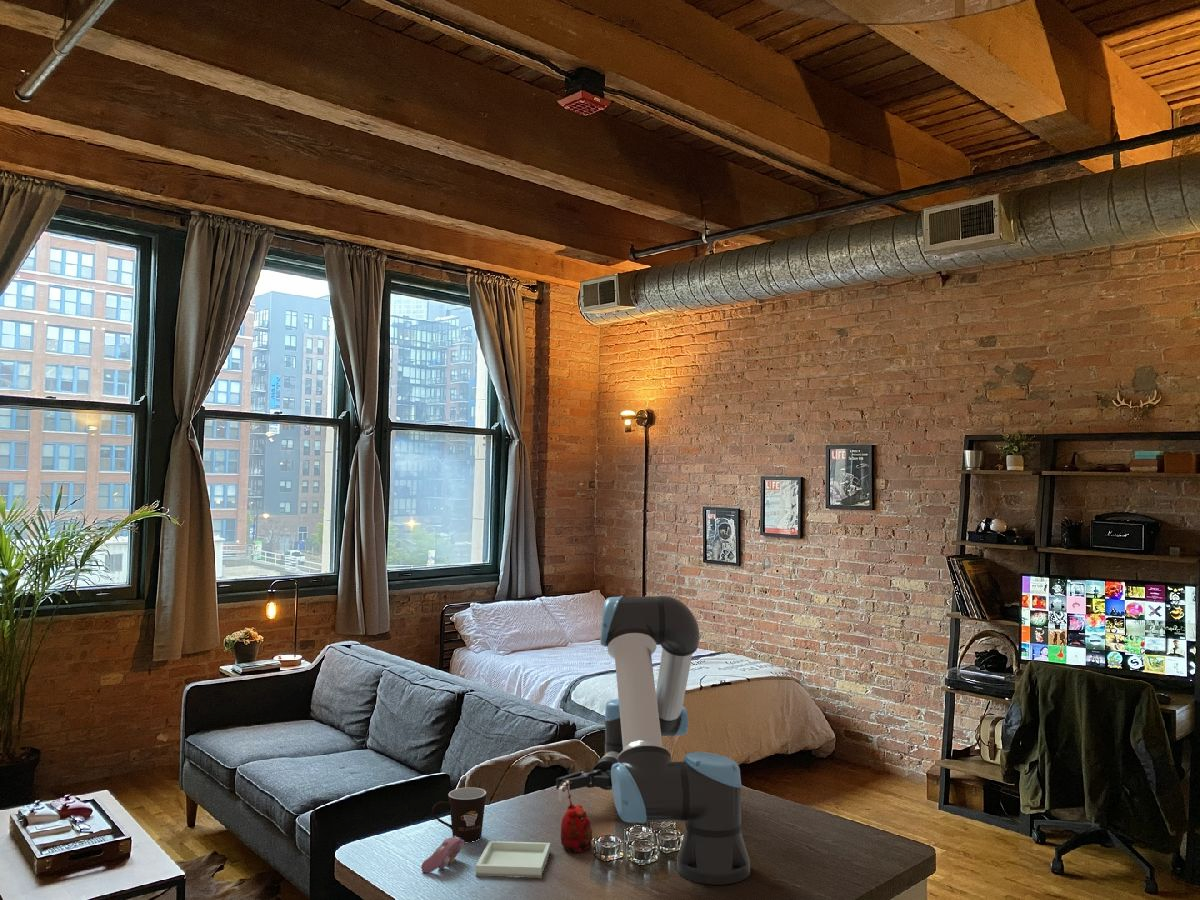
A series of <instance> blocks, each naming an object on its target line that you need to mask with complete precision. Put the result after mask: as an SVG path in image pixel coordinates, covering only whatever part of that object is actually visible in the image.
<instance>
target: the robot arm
mask: <svg viewBox="0 0 1200 900" xmlns="http://www.w3.org/2000/svg"><path fill="white" fill-rule="evenodd" d="M697 621H698V620H697V619H696V617H695V615H694V614H693V612H692V611H691V609H690V608H689V607H688V606H687V605H686V604H684V602H682V601H681V600H679V599H677V598H675V597H672V596H669V595H655V596H654V595H652V596H651V595H649V596H646V595H645V596H644V595H643V596H624V595H620V596H612V597H607V598H606V599H605V601H604V602H603V607H602V616H601V627H600V637H599V638H600V641H599V642H600V643H599V644H600V646H603V647H607V653H608V655H609V657H611V658H613V659H614V662H615V664H614V665H615V674H616V675H615V676H616V687H617V696H618V697H617V698H616V699H610V700H608V701H607V702H606V704H605V711H604V733H605V734H604V737H605V738H604V739H605V740H604V755H603V756H602V757H601V758H600V759H599V760H597V763H595V765H594V766H593V769H592V771H588V772H585V773H584V769H578V770H577V771H575V772H572V773H569V774H566V775H563V776H560V777H557V778H556V779H555V780H556V782H555V786H556V790H557V793H558V796H557V797H558V798H557V799H558V801H560V802H562V801H563V800H564V799H565V798H566V796H567V795H568V790H567V789H566V790H565V792H563V791H562V788H563V787H564V788H565V787H566V786H562V785H566V782H567V783H568V784H569V783H571V782H572V783H571V784H569V785H568V789H569V791H571V790H572V791H573V790H576V789H582V788H588V789H591V788H600V789H601V790H604V791H612V798H613V801H614V806H615V810H616V811H617V814H618V816H619V818H620V819H621V820H622V821H623V822H625V823H634V824H635V823H639V824H648V823H664V822H665V823H666V822H667V823H668V822H670V823H671V822H684V824H685V825H684V827H685V829H684V834H683V836H682V841H681V844H680V847H679V850H678V853H677V856H676V869H677V870H676V871H677V873H679V875H681V877H683V878H685V879H687V880H690V881H692V882H695V883H697V884H698V883H699V884H704V885H706V884H707V885H715V886H716V885H719V886H721V885H732V884H736V883H739V882H742V881H745V880H746V879H747V878H748V877H749V876H750V874H751V859H750V856H749V853H748V850H747V847H746V844H745V841H744V838H743V834H742V807H741V806H742V802H741V801H742V794H741V793H742V786H743V784H742V779H741V769H740V766H739V764H738V763H737V762H736V761H735V760H733V759H732V758H731V757H727V756H725V755H723V754H719V753H714V752H708V751H692V752H690V751H689V752H687V753H686V754H685V755H684V757H683V761H672V754H671V751H670V750H669V749H668V748H667V747H665V746H663V740H662V738H663V737H676V736H684V735H687V733H688V730H689V715H688V713H689V712H688V710H687V708H686V707H685V706H684V701H685V697H686V691H687V686H688V679H689V674H690V668H691V664H692V663H691V662H692V657H693V655H694V654H695V652H697V650H698V647H699V643H700V628H699V624H698V622H697ZM657 645H659V646H661V648H662V649H661V650H662V651H661V657H660V664H659V670H658V676H657V683H655V675H654V667H653V660H652V655H653V654H654V653H655V651H656V649H657ZM563 779H565V780H566V782H565V781H564V780H563Z"/></svg>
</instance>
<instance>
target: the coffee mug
mask: <svg viewBox="0 0 1200 900" xmlns="http://www.w3.org/2000/svg"><path fill="white" fill-rule="evenodd" d="M447 795H448V802H446V801H443V800H442V801H438V802H436V803H435V804H434V805H433V806H432V810H431V812H432V816H433V817H434V819H435V820H437V821H438V822H439V823H441V824H443V825H444V826H446V827H448V828H450V830H452V831H451V833H452V837H454V836H455V835H456V837H459V838H461V839H462V840H464V841H465V842H472V841H476V840H478V839H480V838H481V839H482V833H483V832H482V831H483V824H484V816H485V815H484V814H485V808H486V799H487V791H486V790H485V789H483V788H480V787H460V788H454V790H451V791H449V793H448V794H447ZM440 805H444V806H446V808H447V810H448V811H449V813H450V822H451V824H449V823H448V822H446V821H444V820H442V819H440V818H439V817H438V816H437V815H436V813H435V811H436V808H437V807H438V806H440ZM481 839H480V840H481ZM478 841H479V840H478ZM476 842H477V841H476ZM472 843H473V842H472Z"/></svg>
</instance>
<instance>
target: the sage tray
mask: <svg viewBox="0 0 1200 900" xmlns="http://www.w3.org/2000/svg"><path fill="white" fill-rule="evenodd" d="M551 845H552V844H551V842H539V841H538V842H536V841H535V842H533V841H531V842H530V841H505V840H504V841H502V840H501V841H499V840H497V841H496V840H489V841H488V842H487V844H486V846H485V848H484V850H483V852H482V853H481V856H480V857H479V859H478V860H477V863H476V864H475V877H489V876H509V877H508V878H515V877H514V876H520V877H521V876H523V877H541V876H542V877H543V875H542V873H543V874H544V872H545V869H544V868H546V867H545V865H546V866H547V864H548V861H549V858H548V857H550V856H549V854H550V855H551V853H550V852H551V851H552V849H551V848H552V847H551ZM547 860H548V861H547ZM546 863H547V864H546ZM543 871H544V872H543ZM510 876H512V877H510ZM542 877H541V878H542Z"/></svg>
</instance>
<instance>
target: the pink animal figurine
mask: <svg viewBox="0 0 1200 900" xmlns="http://www.w3.org/2000/svg"><path fill="white" fill-rule="evenodd" d="M465 844H466V843H465V841H464V840H462V839H461V838H459V837H456V835H455V836H454V837H453V836H452V837H448V838H446V839H444V840H443V841H442V843H441V845H439V846H438V847H437V848H436V850H435V851H434V852H433V853H432V854H431V855H430V856H429V857H427V858H426V859H425V860H424V861H423V862H422V864H421V866H420V868H421V871H422V873H424V872H426V873H425V874H427V873H432V872H434V871H435V870H436V869H439V870H440V871H443V870H444V869H445V868H446V866H447V865H451V864H452V863H453V862H454V861H455V860H456V857H457V856H458V854H460V852H461V850H462V849H463V848H464V845H465ZM451 862H452V863H451ZM450 863H451V864H450ZM444 867H445V868H444ZM443 868H444V869H443ZM442 869H443V870H442Z"/></svg>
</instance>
